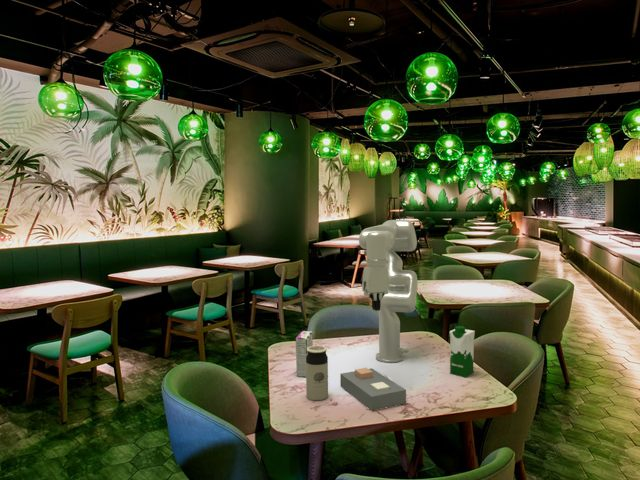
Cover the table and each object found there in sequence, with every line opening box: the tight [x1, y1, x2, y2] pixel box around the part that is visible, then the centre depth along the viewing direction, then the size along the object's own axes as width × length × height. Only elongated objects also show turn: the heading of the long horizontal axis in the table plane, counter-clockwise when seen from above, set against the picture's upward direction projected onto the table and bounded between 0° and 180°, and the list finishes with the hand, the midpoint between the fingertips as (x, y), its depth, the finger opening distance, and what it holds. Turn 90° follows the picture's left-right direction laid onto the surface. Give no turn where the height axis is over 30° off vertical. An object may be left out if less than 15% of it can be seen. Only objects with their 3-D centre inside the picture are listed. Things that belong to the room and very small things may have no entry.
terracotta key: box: [354, 367, 373, 380], centre depth 173 cm, size 5×5×5 cm
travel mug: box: [305, 345, 329, 401], centre depth 166 cm, size 8×8×18 cm
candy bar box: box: [295, 330, 314, 378], centre depth 191 cm, size 11×5×16 cm, turn 168°
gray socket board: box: [339, 368, 407, 411], centre depth 167 cm, size 14×24×5 cm, turn 24°
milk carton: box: [449, 325, 476, 378], centre depth 187 cm, size 9×9×20 cm
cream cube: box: [371, 382, 390, 391], centre depth 162 cm, size 5×5×5 cm
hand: (376, 309), depth 178 cm, fingers closed
